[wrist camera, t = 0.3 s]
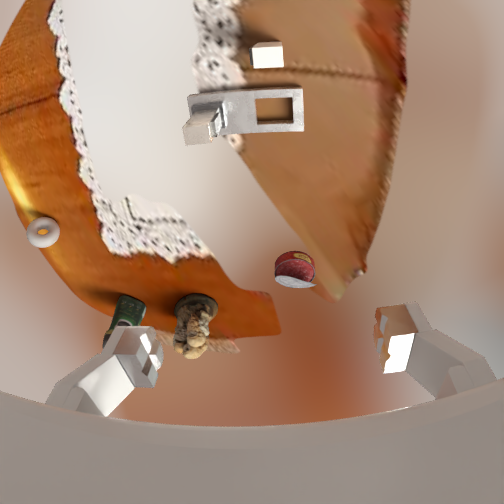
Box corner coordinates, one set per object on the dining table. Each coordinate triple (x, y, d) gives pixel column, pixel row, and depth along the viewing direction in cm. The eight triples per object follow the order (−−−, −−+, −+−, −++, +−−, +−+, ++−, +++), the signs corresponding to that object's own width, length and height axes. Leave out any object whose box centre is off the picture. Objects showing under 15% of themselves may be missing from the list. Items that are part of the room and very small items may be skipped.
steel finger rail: (301, 86, 49) (307, 103, 40) (303, 127, 54) (308, 153, 45) (190, 94, 51) (169, 114, 42) (196, 133, 56) (179, 160, 48)
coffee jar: (117, 303, 96) (98, 351, 82) (121, 291, 91) (100, 340, 77) (144, 315, 99) (128, 363, 85) (149, 303, 94) (132, 354, 80)
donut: (38, 218, 74) (20, 241, 66) (38, 209, 71) (19, 232, 64) (66, 231, 76) (48, 255, 69) (66, 222, 74) (48, 246, 66)
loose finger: (281, 41, 43) (282, 46, 35) (282, 57, 45) (283, 66, 37) (253, 42, 44) (247, 48, 35) (255, 58, 46) (249, 68, 37)
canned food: (314, 253, 81) (327, 288, 77) (280, 270, 84) (292, 304, 80) (298, 240, 72) (313, 279, 67) (261, 259, 75) (273, 297, 71)
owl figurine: (192, 284, 86) (179, 335, 73) (228, 301, 90) (221, 353, 77) (167, 313, 96) (154, 359, 84) (199, 327, 100) (190, 373, 88)
